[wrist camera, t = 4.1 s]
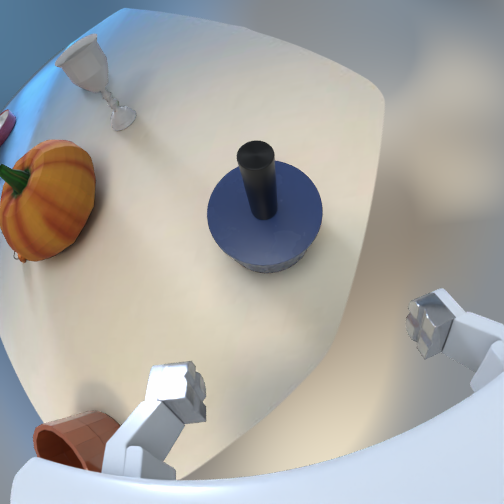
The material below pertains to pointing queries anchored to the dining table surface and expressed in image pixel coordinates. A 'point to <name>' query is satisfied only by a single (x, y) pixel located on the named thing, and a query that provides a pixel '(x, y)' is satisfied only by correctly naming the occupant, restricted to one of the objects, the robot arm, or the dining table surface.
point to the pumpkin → (46, 199)
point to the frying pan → (6, 125)
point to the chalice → (93, 76)
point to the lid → (264, 209)
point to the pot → (76, 440)
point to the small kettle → (21, 258)
